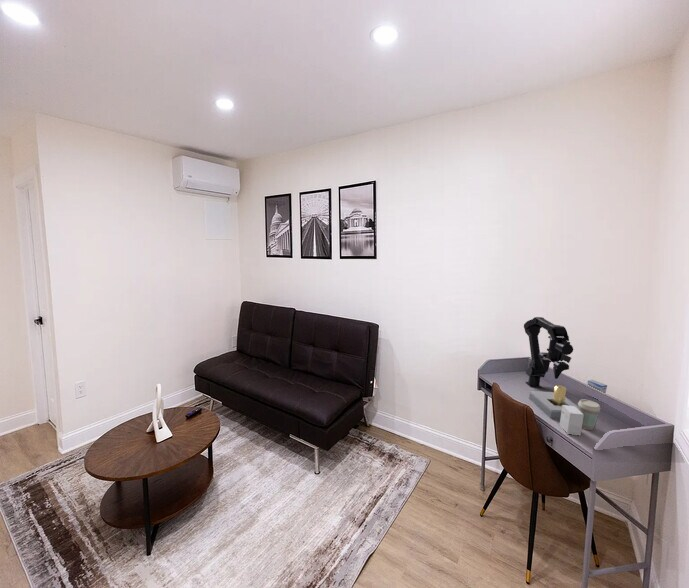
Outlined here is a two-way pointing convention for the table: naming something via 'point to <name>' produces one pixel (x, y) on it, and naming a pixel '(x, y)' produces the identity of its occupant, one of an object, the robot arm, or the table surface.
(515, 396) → the table surface
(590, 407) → the coffee cup
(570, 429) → the small box
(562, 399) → the brass cylinder
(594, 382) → the medicine box
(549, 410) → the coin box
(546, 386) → the table surface
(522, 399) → the table surface
